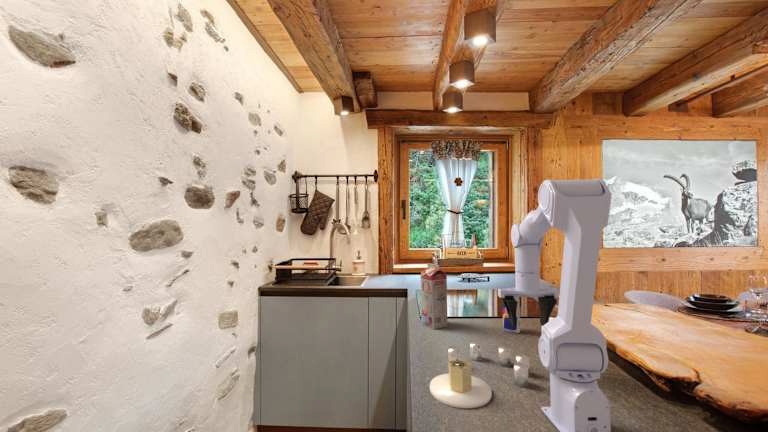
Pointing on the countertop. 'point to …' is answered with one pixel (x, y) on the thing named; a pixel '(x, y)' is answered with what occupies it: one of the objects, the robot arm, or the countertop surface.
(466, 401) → the ceramic plate
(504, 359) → the spacer field
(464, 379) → the brass nut
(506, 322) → the energy drink
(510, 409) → the countertop surface
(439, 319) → the juice carton
